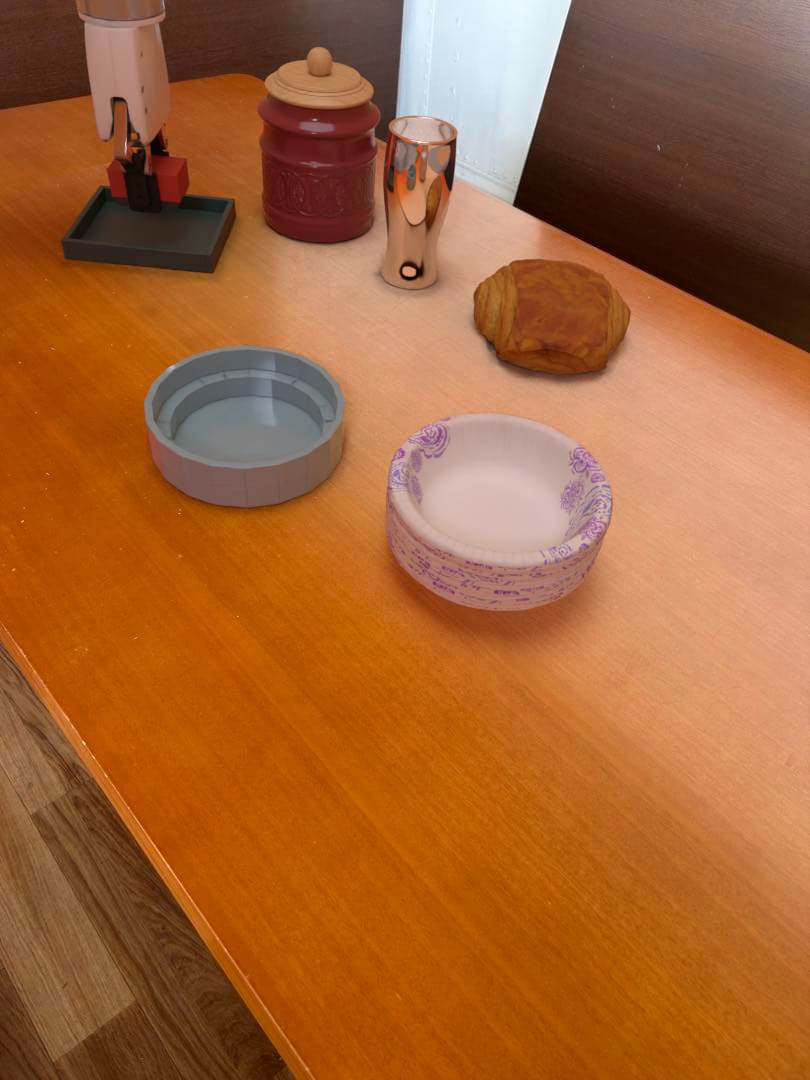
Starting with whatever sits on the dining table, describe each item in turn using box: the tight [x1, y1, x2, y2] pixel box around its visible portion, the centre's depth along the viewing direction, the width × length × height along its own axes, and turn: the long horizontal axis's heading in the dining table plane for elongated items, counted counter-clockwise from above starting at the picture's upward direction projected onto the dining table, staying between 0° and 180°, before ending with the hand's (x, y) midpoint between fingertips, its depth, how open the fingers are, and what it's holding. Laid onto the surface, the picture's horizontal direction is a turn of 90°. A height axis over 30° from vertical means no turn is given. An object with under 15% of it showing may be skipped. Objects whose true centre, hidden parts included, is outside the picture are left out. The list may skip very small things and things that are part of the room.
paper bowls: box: [384, 412, 614, 612], centre depth 56 cm, size 15×15×8 cm
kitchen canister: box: [256, 46, 381, 243], centre depth 86 cm, size 13×13×18 cm
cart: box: [106, 154, 191, 211], centre depth 82 cm, size 7×4×4 cm, turn 88°
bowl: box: [143, 344, 346, 509], centre depth 63 cm, size 15×15×4 cm
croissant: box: [472, 258, 632, 375], centre depth 77 cm, size 14×16×8 cm
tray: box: [60, 184, 237, 274], centre depth 86 cm, size 15×13×2 cm
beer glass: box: [380, 115, 459, 290], centre depth 80 cm, size 7×7×15 cm
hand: (152, 198), depth 84 cm, fingers closed on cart, 4 cm apart
